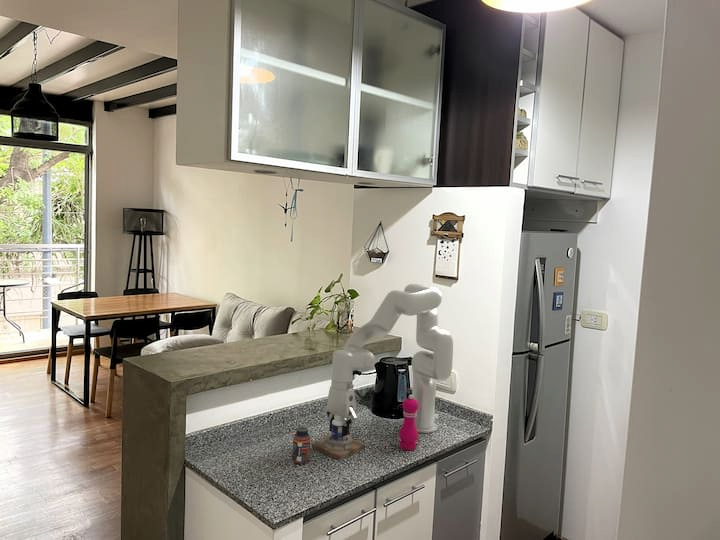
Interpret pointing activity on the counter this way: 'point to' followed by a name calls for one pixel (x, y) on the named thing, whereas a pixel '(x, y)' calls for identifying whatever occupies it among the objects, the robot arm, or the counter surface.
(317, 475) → the counter surface
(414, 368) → the robot arm
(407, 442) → the pepper mill
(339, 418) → the pill bottle
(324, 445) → the hub board
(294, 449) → the supplement bottle
